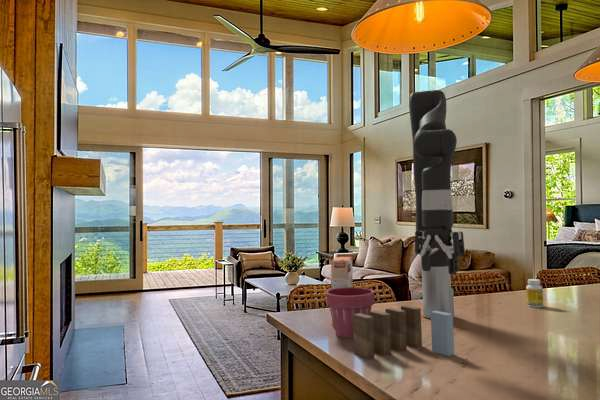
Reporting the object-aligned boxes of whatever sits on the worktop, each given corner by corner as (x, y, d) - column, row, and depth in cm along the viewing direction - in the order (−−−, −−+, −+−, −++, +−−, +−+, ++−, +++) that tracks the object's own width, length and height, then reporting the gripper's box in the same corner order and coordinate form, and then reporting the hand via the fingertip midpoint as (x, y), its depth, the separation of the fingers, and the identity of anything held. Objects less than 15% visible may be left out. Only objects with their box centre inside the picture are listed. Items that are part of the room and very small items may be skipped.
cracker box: (350, 327, 148) (348, 260, 148) (331, 327, 149) (329, 260, 150) (354, 317, 162) (352, 256, 162) (337, 317, 163) (335, 256, 163)
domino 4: (407, 341, 130) (406, 305, 130) (422, 346, 125) (420, 308, 126) (402, 343, 129) (400, 306, 129) (415, 347, 124) (414, 309, 125)
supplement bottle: (530, 304, 175) (529, 278, 175) (545, 306, 171) (544, 279, 171) (524, 306, 171) (523, 280, 172) (540, 308, 167) (538, 281, 168)
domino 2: (377, 348, 124) (376, 310, 124) (391, 353, 120) (389, 313, 120) (370, 350, 123) (369, 311, 123) (384, 355, 119) (383, 314, 119)
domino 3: (392, 345, 127) (391, 307, 127) (406, 349, 123) (405, 310, 123) (386, 346, 126) (385, 308, 126) (400, 351, 121) (399, 312, 122)
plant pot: (363, 343, 130) (361, 296, 130) (318, 337, 137) (317, 293, 137) (383, 331, 142) (381, 288, 142) (341, 326, 149) (339, 285, 149)
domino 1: (360, 352, 121) (359, 313, 122) (374, 357, 117) (372, 316, 117) (354, 354, 120) (352, 314, 120) (367, 359, 116) (365, 317, 116)
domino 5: (438, 349, 122) (436, 310, 122) (454, 354, 117) (452, 314, 118) (432, 351, 121) (430, 311, 121) (448, 356, 116) (446, 315, 116)
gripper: (406, 209, 124) (408, 271, 124) (448, 207, 112) (451, 276, 112) (426, 208, 128) (428, 268, 128) (470, 207, 116) (472, 273, 115)
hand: (439, 272), depth 120 cm, fingers open, 8 cm apart
